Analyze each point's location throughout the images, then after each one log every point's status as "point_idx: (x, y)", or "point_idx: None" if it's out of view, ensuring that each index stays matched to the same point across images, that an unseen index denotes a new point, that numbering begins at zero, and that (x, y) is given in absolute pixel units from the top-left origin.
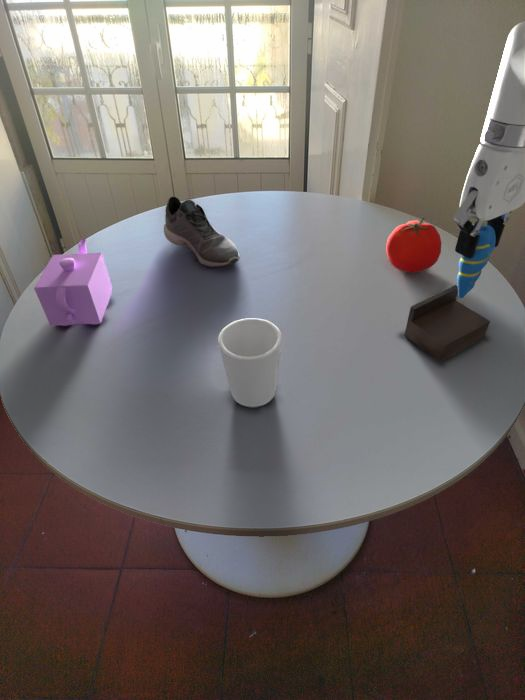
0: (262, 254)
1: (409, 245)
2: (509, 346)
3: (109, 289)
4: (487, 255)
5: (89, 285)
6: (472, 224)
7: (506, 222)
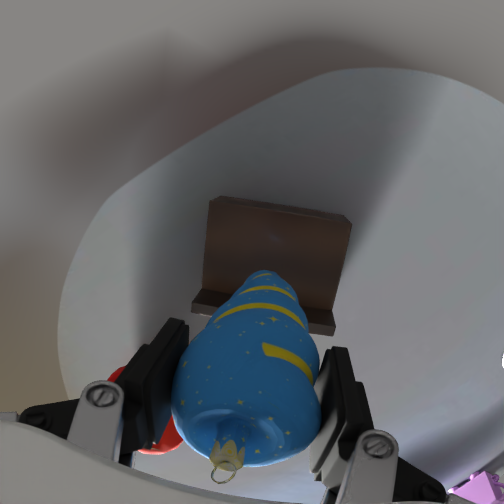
0: (295, 494)
1: (169, 425)
2: (208, 150)
3: None
4: (275, 314)
5: (492, 499)
6: (397, 495)
7: (103, 381)
